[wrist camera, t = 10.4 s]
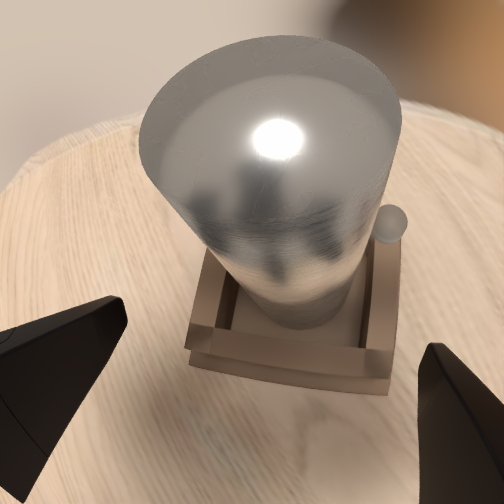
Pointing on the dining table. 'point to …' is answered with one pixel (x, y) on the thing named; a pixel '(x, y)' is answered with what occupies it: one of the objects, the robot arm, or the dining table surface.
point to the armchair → (306, 341)
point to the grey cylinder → (277, 165)
